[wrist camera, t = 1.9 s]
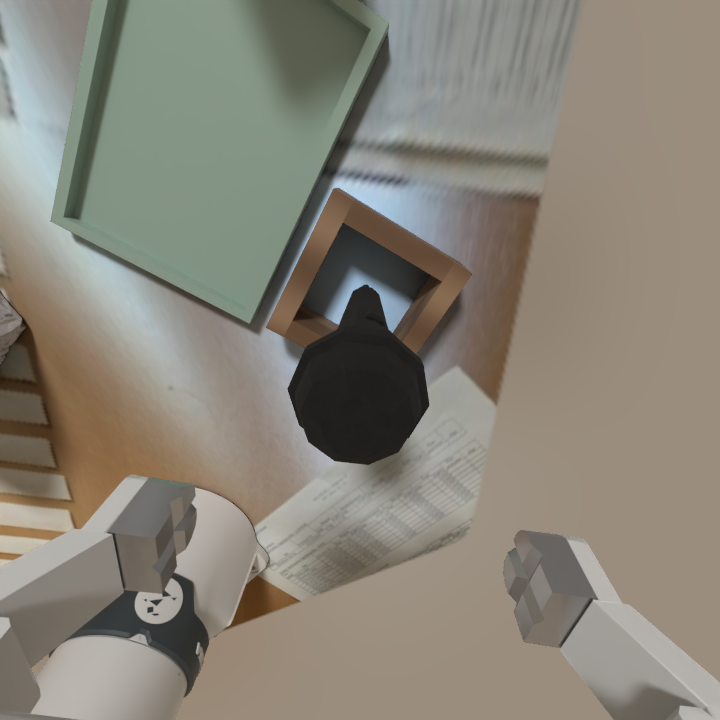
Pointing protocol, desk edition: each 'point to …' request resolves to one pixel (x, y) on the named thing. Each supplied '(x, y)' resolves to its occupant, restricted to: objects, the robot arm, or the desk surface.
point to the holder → (347, 209)
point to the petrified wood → (8, 326)
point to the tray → (209, 133)
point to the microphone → (359, 386)
